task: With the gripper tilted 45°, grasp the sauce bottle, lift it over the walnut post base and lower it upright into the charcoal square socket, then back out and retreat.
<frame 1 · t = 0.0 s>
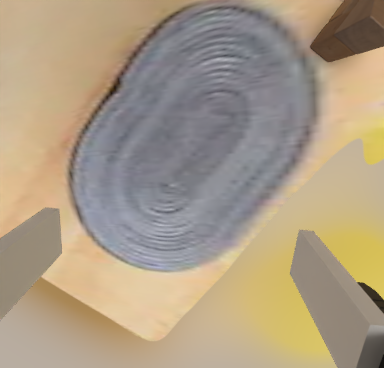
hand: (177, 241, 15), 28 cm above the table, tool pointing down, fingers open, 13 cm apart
wooden block: (346, 19, 36), on the table
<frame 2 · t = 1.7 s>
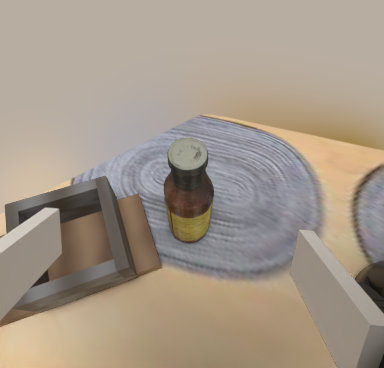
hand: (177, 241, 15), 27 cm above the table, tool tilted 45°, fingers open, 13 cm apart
sauce bottle: (188, 225, 45), on the table
post socket: (86, 252, 42), on the table
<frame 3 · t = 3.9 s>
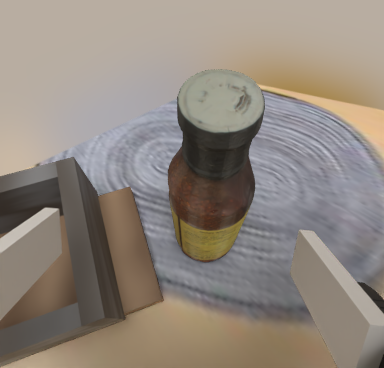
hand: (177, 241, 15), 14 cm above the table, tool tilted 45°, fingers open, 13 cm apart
sauce bottle: (203, 234, 30), on the table
post socket: (49, 275, 28), on the table
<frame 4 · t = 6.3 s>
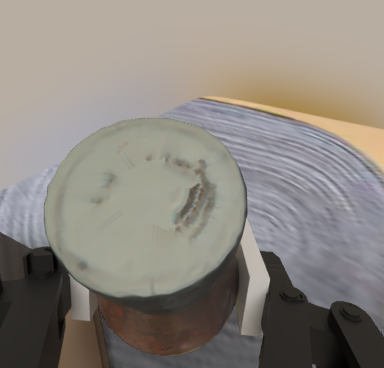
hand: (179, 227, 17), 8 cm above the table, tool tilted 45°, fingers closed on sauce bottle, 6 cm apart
sauce bottle: (176, 303, 23), on the table, touching gripper
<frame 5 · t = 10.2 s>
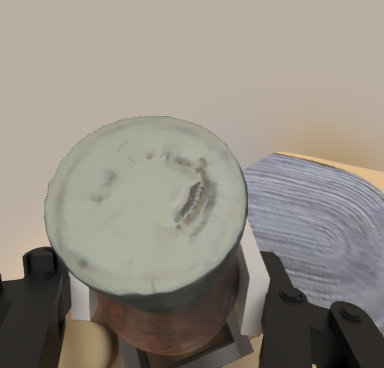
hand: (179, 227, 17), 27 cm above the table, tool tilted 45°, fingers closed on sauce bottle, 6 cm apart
sauce bottle: (176, 303, 23), point 18 cm above the table, touching gripper
post socket: (177, 315, 39), on the table
when the fingers open (12 cm above the table, at t = 14.0 s): sauce bottle drops 2 cm, resting on post socket.
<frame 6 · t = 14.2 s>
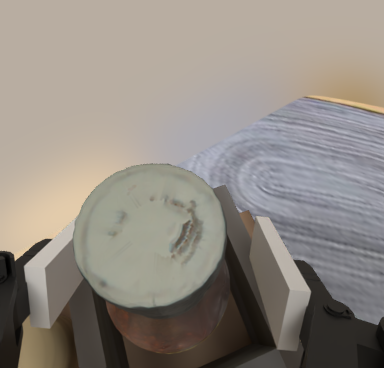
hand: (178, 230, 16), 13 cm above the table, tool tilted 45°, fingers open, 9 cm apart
sauce bottle: (175, 306, 25), point 2 cm above the table, touching post socket
post socket: (176, 306, 26), on the table
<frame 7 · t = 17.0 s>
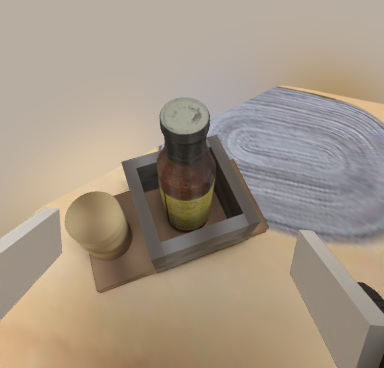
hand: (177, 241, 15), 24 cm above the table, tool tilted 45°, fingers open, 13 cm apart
sauce bottle: (186, 213, 39), point 2 cm above the table, touching post socket
post socket: (186, 217, 41), on the table
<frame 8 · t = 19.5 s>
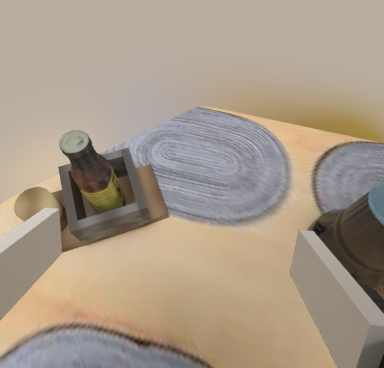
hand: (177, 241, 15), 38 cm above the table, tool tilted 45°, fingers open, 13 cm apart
sauce bottle: (110, 203, 55), point 2 cm above the table, touching post socket
post socket: (112, 206, 57), on the table
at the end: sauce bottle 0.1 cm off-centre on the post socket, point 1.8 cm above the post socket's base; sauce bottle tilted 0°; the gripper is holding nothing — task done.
